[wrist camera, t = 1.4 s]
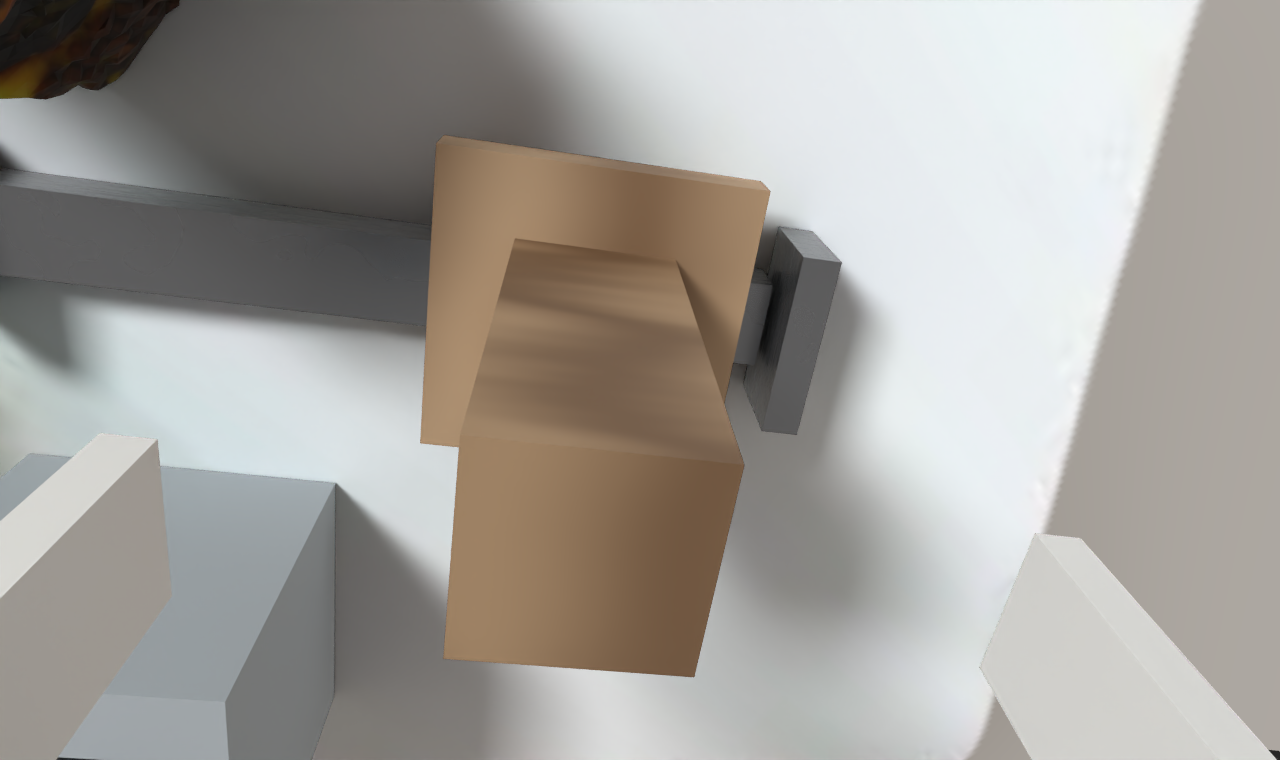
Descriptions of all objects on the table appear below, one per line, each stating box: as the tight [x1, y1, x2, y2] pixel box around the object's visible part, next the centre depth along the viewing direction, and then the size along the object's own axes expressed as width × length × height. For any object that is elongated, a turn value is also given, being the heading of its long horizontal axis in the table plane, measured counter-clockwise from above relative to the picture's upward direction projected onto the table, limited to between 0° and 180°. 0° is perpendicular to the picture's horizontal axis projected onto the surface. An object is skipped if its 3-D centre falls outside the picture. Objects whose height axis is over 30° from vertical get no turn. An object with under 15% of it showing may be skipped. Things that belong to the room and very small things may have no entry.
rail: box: [0, 168, 842, 435], centre depth 22 cm, size 23×5×3 cm, turn 81°
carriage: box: [420, 135, 770, 677], centre depth 18 cm, size 8×8×13 cm
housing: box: [0, 454, 335, 760], centre depth 24 cm, size 9×9×9 cm
